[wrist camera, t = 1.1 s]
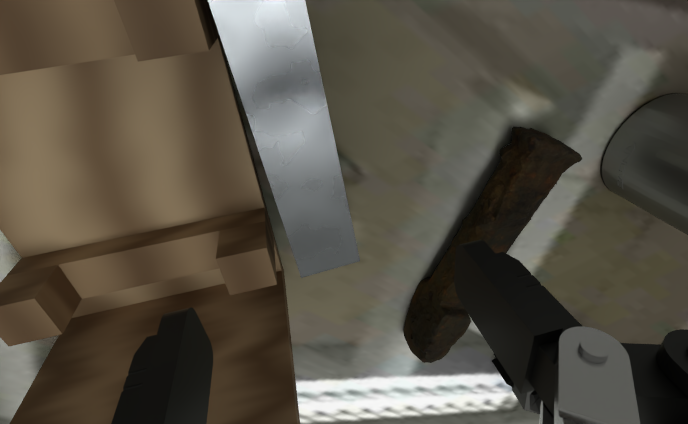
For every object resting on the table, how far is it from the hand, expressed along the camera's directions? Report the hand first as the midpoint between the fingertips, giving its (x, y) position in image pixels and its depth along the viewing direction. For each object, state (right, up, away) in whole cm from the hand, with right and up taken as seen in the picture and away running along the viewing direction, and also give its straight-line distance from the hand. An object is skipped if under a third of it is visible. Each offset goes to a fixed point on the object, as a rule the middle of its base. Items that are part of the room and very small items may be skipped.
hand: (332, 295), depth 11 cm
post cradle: (-14, +6, +12) cm, 19 cm away
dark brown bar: (+11, 0, +23) cm, 25 cm away
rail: (-3, +9, +13) cm, 16 cm away
